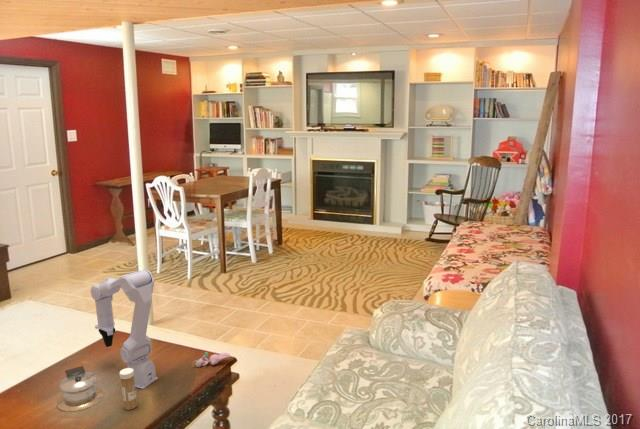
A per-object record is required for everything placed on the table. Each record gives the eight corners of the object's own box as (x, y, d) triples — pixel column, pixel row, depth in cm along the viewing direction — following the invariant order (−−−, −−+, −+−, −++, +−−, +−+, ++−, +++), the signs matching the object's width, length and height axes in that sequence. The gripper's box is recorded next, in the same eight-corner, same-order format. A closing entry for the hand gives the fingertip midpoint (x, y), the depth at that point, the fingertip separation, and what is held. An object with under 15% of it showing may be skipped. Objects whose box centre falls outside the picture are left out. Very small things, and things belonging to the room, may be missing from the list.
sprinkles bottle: (136, 409, 171) (132, 373, 168) (122, 411, 170) (118, 375, 167) (138, 401, 176) (134, 366, 173) (124, 403, 175) (120, 368, 172)
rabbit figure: (193, 373, 196) (231, 363, 198) (189, 360, 195) (227, 350, 197) (194, 365, 202) (231, 356, 204) (190, 352, 201) (227, 343, 203)
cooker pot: (107, 401, 176) (105, 387, 175) (60, 417, 168) (57, 402, 167) (99, 383, 188) (97, 369, 187) (54, 396, 180) (52, 382, 179)
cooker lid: (99, 386, 175) (98, 380, 175) (62, 397, 169) (61, 390, 169) (91, 368, 188) (90, 362, 187) (57, 378, 181) (56, 372, 181)
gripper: (90, 310, 199) (94, 341, 201) (97, 322, 187) (101, 355, 190) (109, 305, 202) (112, 337, 205) (117, 317, 191) (121, 350, 193)
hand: (108, 345), depth 198 cm, fingers closed
